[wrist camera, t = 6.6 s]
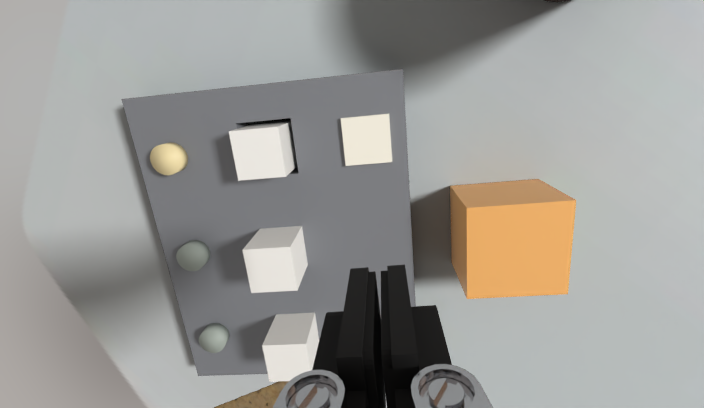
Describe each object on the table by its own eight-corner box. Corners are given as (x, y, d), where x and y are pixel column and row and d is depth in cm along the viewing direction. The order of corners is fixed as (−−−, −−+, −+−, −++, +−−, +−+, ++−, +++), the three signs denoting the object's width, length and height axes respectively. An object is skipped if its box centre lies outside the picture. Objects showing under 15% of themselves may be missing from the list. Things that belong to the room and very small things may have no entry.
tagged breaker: (293, 120, 25) (278, 126, 21) (299, 163, 26) (285, 176, 22) (251, 124, 25) (228, 131, 21) (258, 167, 26) (238, 180, 22)
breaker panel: (400, 70, 23) (407, 65, 18) (416, 351, 30) (424, 406, 25) (140, 98, 25) (78, 100, 20) (209, 358, 32) (175, 411, 26)
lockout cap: (538, 178, 25) (576, 200, 20) (533, 257, 27) (567, 294, 22) (450, 185, 26) (466, 207, 21) (451, 262, 27) (466, 298, 23)
